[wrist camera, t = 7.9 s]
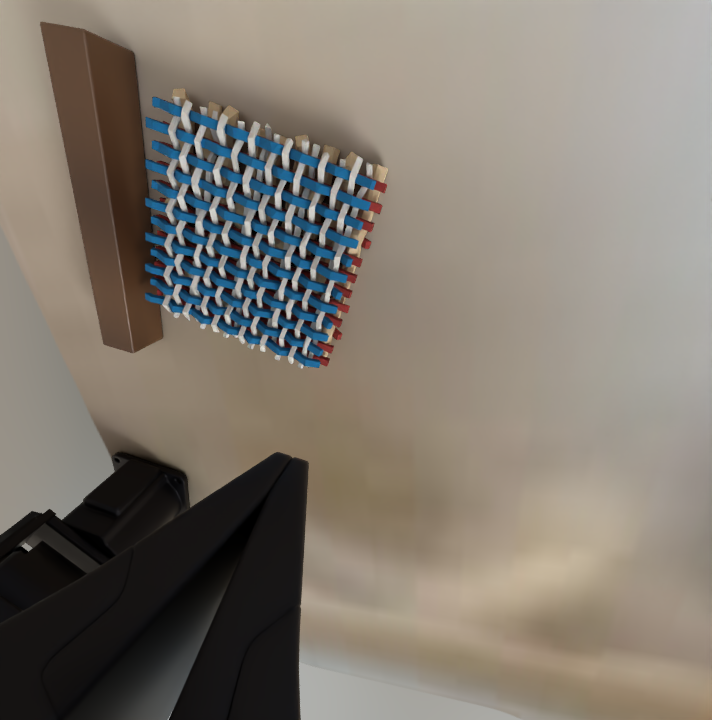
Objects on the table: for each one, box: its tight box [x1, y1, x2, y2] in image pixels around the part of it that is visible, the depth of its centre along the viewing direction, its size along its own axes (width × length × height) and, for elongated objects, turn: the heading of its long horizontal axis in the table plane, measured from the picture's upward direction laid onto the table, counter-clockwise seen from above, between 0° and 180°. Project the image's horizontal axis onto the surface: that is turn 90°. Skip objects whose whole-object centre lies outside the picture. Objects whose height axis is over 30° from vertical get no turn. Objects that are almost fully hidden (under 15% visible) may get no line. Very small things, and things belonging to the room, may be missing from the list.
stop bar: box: [40, 22, 163, 353], centre depth 17 cm, size 14×2×2 cm, turn 170°
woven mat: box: [145, 88, 388, 368], centre depth 16 cm, size 10×11×2 cm
